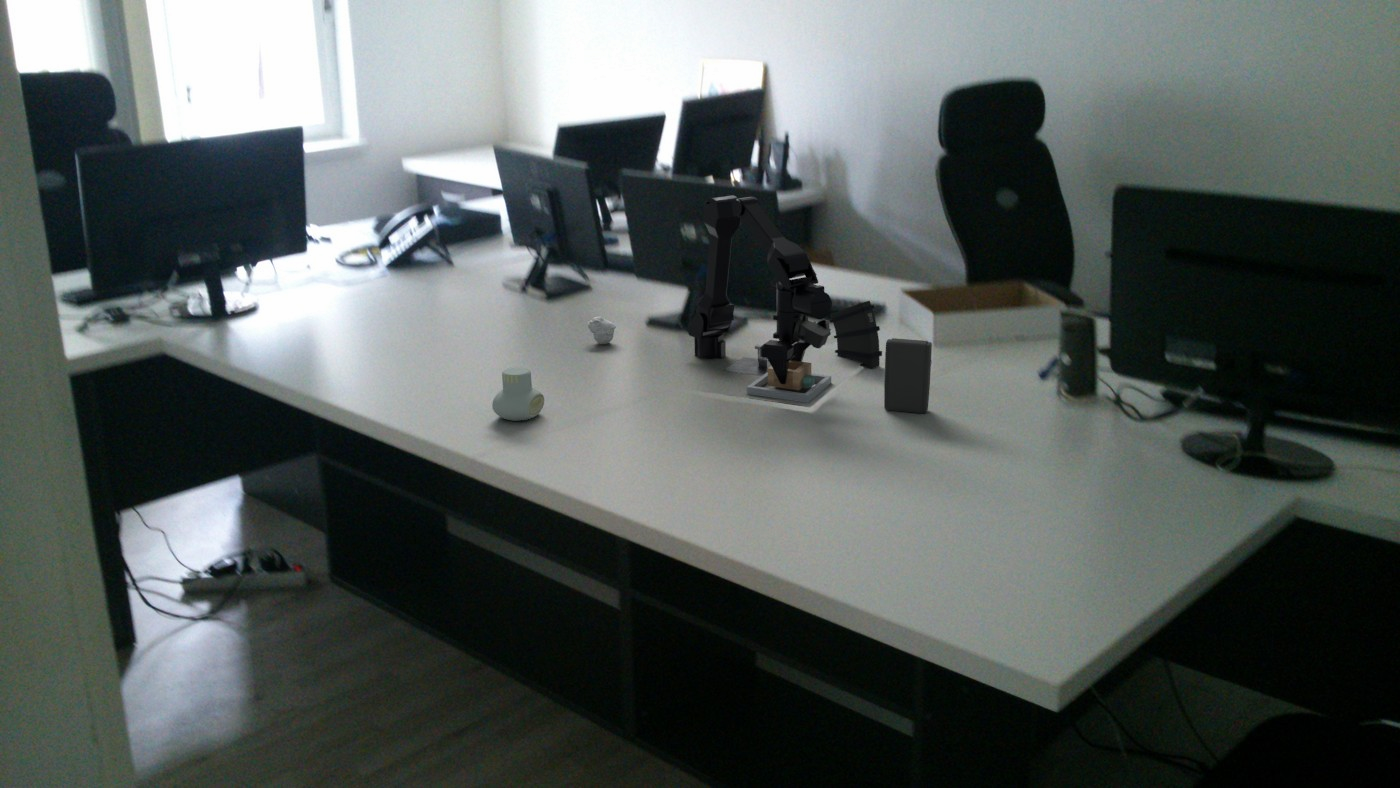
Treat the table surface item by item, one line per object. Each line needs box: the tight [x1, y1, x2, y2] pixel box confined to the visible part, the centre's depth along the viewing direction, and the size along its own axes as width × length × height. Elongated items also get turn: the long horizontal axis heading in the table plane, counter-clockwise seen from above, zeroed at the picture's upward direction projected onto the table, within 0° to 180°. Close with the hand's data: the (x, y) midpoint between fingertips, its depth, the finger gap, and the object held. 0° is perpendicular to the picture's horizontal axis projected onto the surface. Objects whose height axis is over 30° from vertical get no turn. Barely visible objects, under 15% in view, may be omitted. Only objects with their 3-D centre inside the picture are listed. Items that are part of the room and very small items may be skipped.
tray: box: [746, 372, 832, 407], centre depth 259 cm, size 14×14×2 cm
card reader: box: [883, 337, 933, 414], centre depth 246 cm, size 9×4×15 cm, turn 71°
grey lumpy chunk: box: [587, 316, 617, 345], centre depth 296 cm, size 6×7×7 cm
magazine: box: [829, 300, 883, 370], centre depth 278 cm, size 4×13×15 cm, turn 40°
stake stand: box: [723, 344, 771, 377], centre depth 274 cm, size 11×11×6 cm
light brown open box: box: [767, 360, 815, 391], centre depth 258 cm, size 7×9×4 cm
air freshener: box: [492, 366, 545, 422], centre depth 247 cm, size 11×8×10 cm
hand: (789, 378), depth 259 cm, fingers closed on light brown open box, 7 cm apart
